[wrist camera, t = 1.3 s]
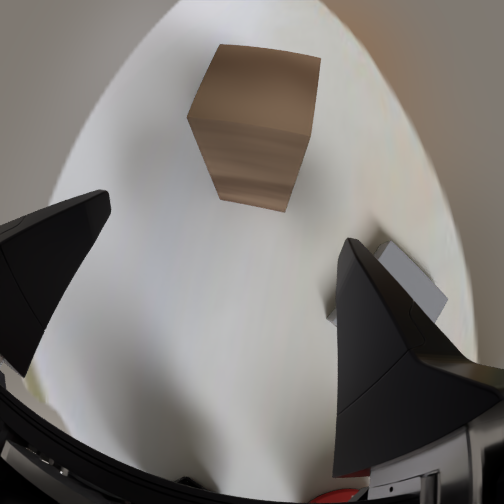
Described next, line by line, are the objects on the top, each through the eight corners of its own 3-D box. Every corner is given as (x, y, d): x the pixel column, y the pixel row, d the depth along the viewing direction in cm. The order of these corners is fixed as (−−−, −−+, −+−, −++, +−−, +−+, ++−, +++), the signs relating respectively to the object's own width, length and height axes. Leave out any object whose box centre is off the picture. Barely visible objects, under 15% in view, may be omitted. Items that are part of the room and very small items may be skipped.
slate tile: (386, 368, 21) (398, 375, 18) (325, 318, 22) (333, 321, 19) (433, 298, 22) (448, 299, 19) (378, 245, 22) (391, 240, 20)
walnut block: (284, 212, 23) (310, 136, 11) (220, 199, 23) (186, 117, 11) (295, 155, 23) (321, 58, 11) (235, 144, 23) (220, 44, 12)
